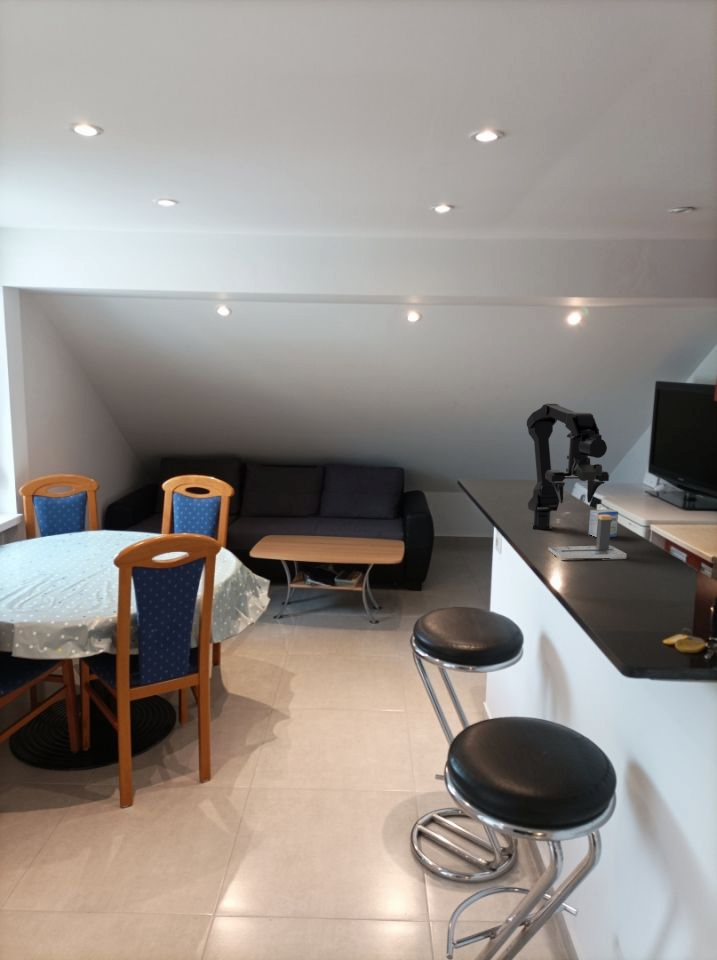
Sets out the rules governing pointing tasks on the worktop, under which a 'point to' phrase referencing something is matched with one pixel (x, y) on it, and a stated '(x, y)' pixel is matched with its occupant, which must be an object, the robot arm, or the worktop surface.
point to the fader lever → (603, 532)
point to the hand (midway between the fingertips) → (575, 502)
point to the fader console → (587, 552)
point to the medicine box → (594, 521)
